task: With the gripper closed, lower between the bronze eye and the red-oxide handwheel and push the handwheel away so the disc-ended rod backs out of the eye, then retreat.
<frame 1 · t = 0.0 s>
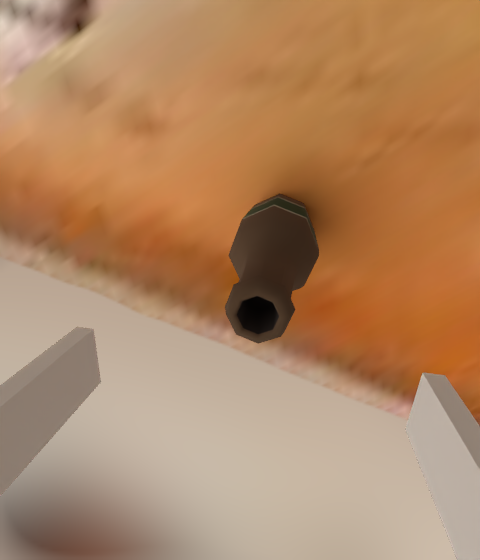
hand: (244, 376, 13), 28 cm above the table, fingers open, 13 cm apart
tabasco sauce: (280, 225, 39), on the table
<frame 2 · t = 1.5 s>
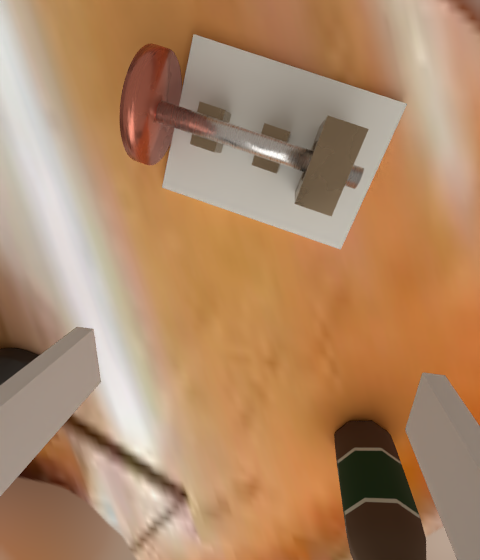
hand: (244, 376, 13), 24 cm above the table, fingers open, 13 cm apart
eye bracket: (265, 147, 27), on the base board, point 5 cm above the table
base board: (273, 150, 32), on the table
disc-ended rod: (246, 140, 27), point 5 cm above the table, slide at 0.0 cm
tabasco sauce: (361, 439, 43), on the table
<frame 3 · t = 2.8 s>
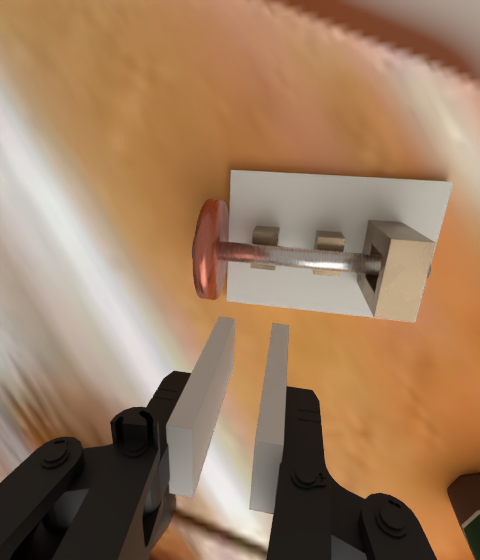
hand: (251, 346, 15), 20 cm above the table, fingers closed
eye bracket: (326, 260, 28), on the base board, point 5 cm above the table
base board: (325, 245, 33), on the table
disc-ended rod: (306, 258, 29), point 5 cm above the table, slide at 0.0 cm
tabasco sauce: (477, 491, 41), on the table
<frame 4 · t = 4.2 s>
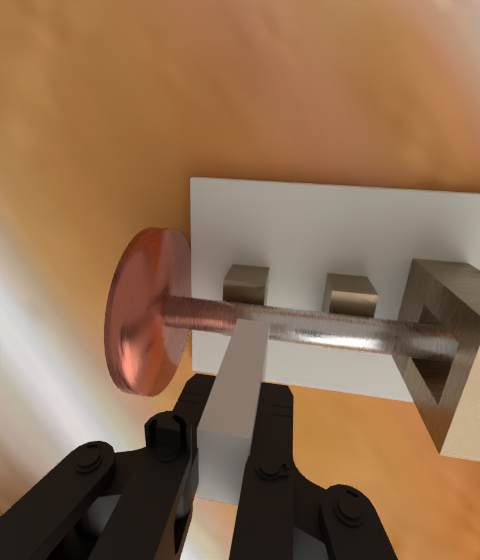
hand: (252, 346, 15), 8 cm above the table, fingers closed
eye bracket: (345, 331, 17), on the base board, point 5 cm above the table
base board: (340, 293, 21), on the table
disc-ended rod: (311, 327, 17), point 5 cm above the table, slide at 0.0 cm
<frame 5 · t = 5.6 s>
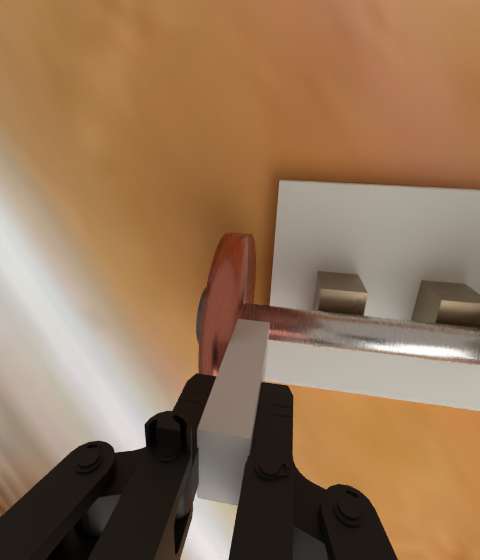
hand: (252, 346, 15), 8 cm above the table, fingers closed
eye bracket: (459, 344, 16), on the base board, point 5 cm above the table
base board: (427, 301, 20), on the table
disc-ended rod: (398, 337, 16), point 5 cm above the table, slide at 1.1 cm, touching gripper
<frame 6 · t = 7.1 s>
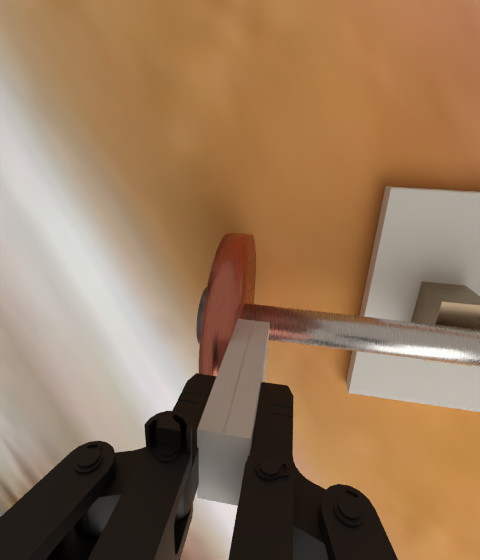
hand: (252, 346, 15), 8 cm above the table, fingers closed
disc-ended rod: (397, 338, 16), point 5 cm above the table, slide at 7.2 cm, touching gripper
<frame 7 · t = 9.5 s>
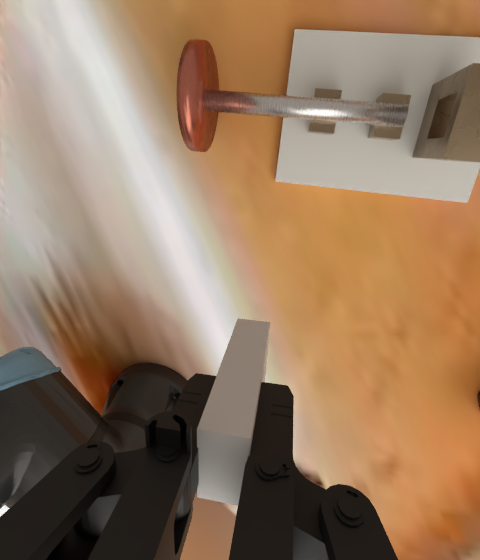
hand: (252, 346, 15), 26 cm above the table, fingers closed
eye bracket: (390, 114, 28), on the base board, point 5 cm above the table
base board: (381, 120, 33), on the table
disc-ended rod: (289, 106, 29), point 5 cm above the table, slide at 7.2 cm
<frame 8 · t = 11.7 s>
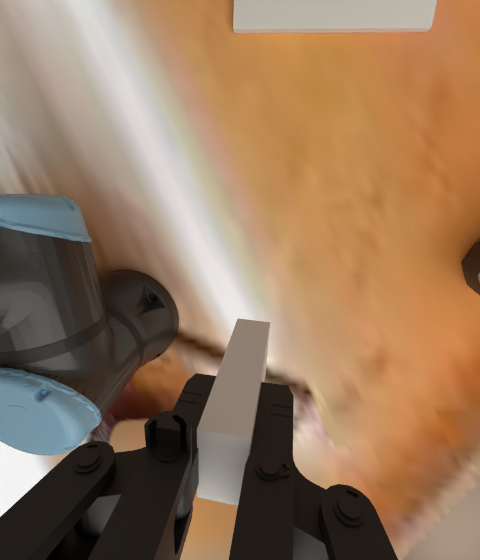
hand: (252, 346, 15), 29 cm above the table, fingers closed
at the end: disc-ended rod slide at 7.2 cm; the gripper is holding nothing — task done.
